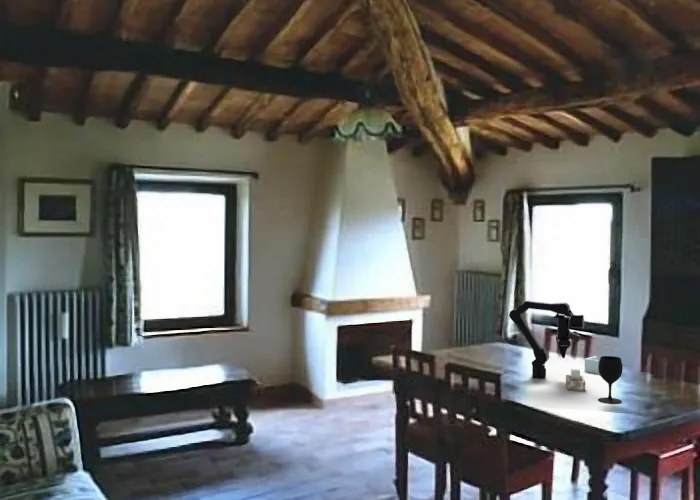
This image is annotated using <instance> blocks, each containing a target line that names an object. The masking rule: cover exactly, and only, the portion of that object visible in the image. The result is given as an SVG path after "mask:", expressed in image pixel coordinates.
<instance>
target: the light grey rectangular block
mask: <svg viewBox="0 0 700 500" xmlns="http://www.w3.org/2000/svg"><path fill="white" fill-rule="evenodd" d="M570 375H571V381H580V376H581V371H580V369H577V368H576V369H575V368H574V369H573V368H570Z"/></svg>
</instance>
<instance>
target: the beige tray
mask: <svg viewBox="0 0 700 500" xmlns="http://www.w3.org/2000/svg"><path fill="white" fill-rule="evenodd" d="M565 385H566V388H567V390H568V391H576V392H577V391H578V392H586V380H585V378H584V376H583V375H580V381H571V374H565Z"/></svg>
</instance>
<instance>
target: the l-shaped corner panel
mask: <svg viewBox="0 0 700 500" xmlns="http://www.w3.org/2000/svg"><path fill="white" fill-rule="evenodd" d="M598 365H599V360H598V356H596V355H594V356H589V357H586V358H584V372H589V373H593V374H599V370H598ZM599 375H600V374H599Z"/></svg>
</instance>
